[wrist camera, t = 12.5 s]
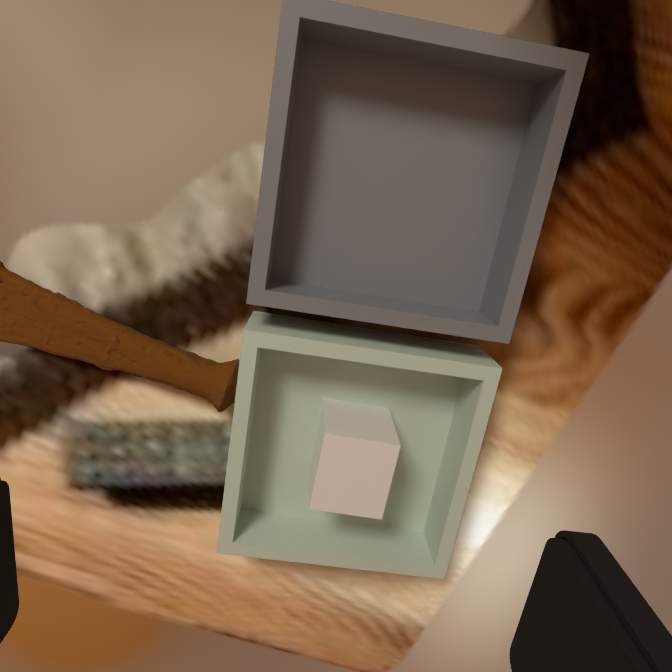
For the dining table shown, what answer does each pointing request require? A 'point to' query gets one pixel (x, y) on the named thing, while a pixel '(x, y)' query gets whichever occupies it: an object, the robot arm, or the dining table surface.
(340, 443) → the beige block
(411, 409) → the sage crate
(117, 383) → the dining table surface
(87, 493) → the dining table surface
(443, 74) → the charcoal bin
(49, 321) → the primitive tool
